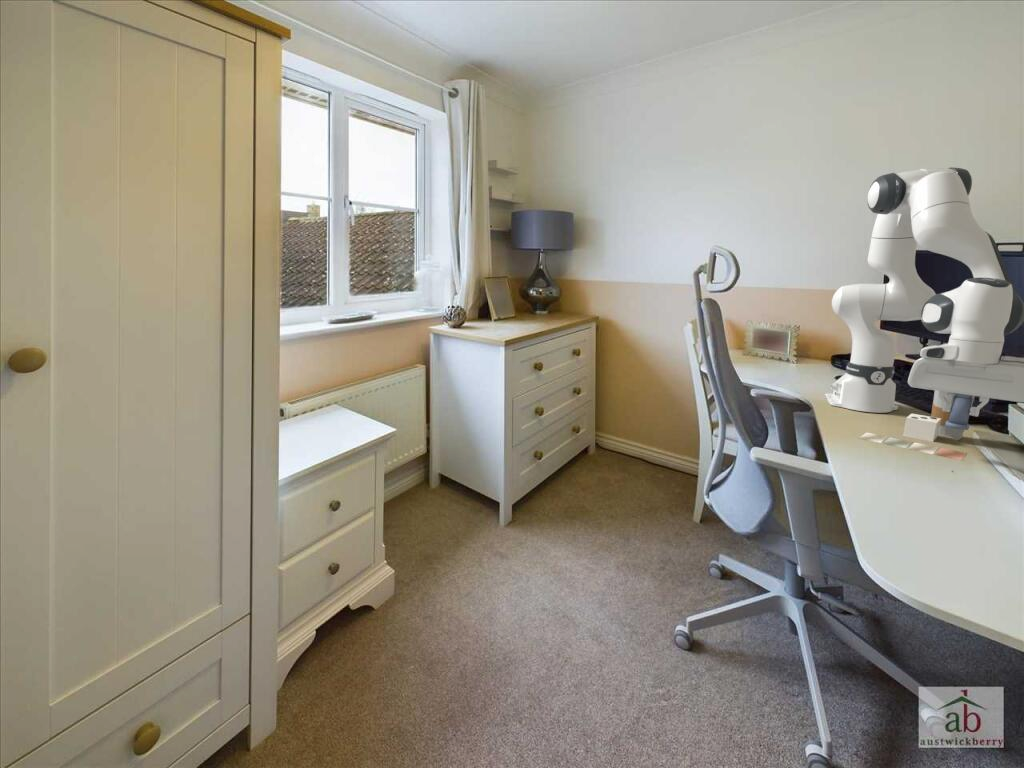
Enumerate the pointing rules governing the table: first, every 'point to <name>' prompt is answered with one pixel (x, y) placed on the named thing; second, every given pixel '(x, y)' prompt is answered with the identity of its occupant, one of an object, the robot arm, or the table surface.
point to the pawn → (960, 412)
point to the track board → (914, 446)
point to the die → (922, 427)
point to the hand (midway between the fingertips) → (959, 413)
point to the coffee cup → (945, 416)
